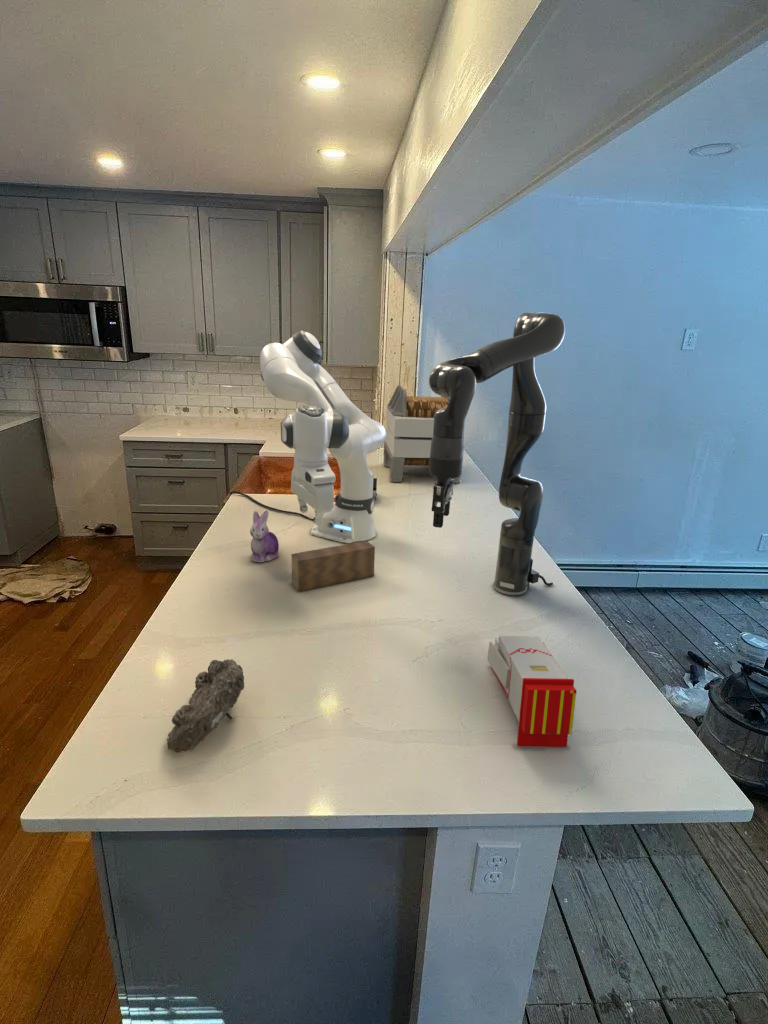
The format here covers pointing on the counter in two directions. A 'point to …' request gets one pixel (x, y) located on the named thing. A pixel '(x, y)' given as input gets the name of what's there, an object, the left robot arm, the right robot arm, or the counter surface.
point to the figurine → (262, 539)
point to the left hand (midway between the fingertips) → (310, 517)
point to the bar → (332, 565)
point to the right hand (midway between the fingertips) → (441, 520)
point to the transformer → (410, 431)
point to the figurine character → (374, 487)
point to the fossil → (206, 705)
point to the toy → (534, 690)
